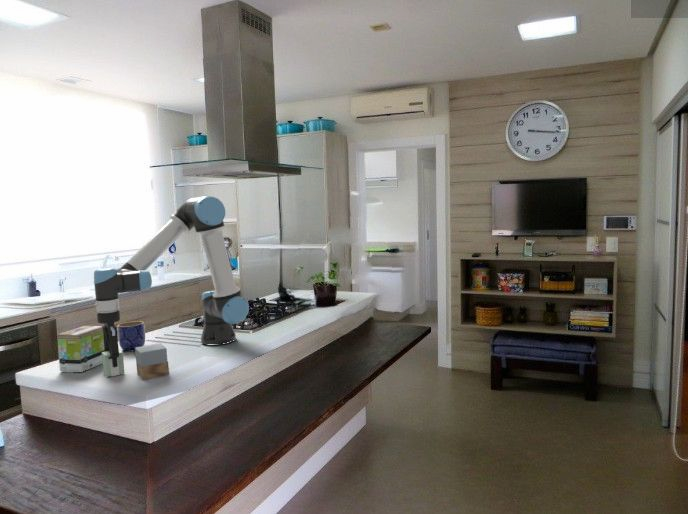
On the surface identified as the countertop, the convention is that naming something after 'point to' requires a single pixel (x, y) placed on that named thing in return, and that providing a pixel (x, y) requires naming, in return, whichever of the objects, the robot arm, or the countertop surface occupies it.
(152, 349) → the tower top
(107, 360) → the green block
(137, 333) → the planter
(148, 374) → the tower base
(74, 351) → the tea box
